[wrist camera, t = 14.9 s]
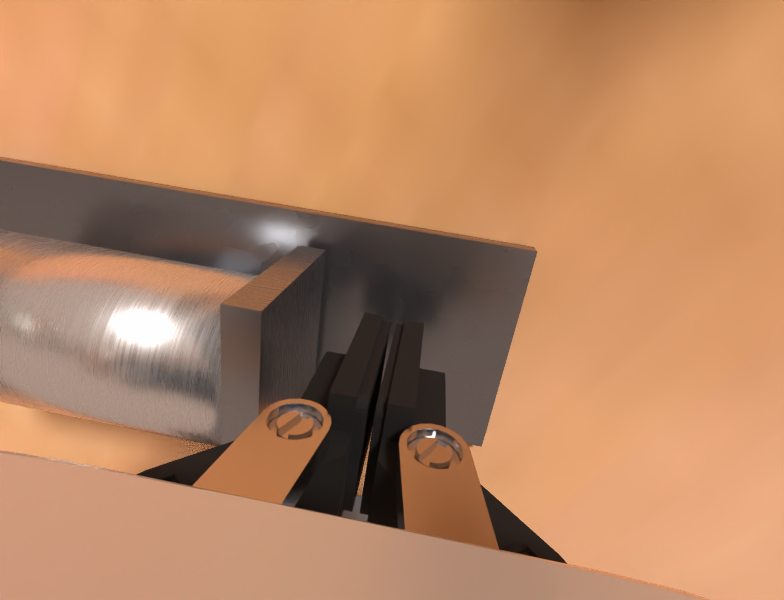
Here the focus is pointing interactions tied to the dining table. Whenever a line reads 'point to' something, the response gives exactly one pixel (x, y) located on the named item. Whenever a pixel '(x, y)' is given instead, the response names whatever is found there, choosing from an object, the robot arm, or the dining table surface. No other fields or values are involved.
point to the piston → (154, 336)
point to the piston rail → (341, 270)
